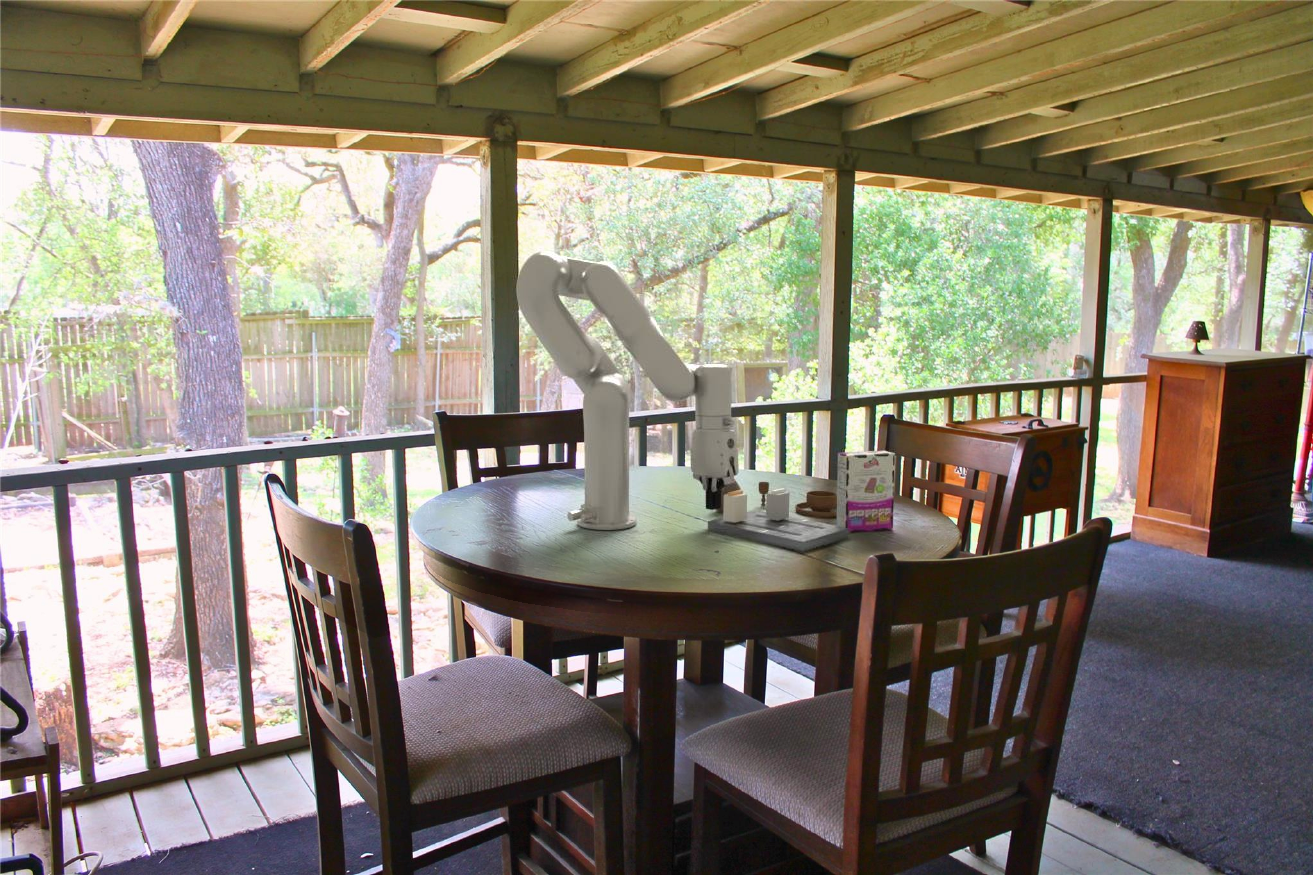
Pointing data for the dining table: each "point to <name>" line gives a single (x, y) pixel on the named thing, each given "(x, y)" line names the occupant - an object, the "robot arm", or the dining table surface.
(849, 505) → the candy bar box
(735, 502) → the ivory fader
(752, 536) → the console
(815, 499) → the place setting
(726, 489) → the vase
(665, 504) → the dining table surface
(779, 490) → the grey fader
